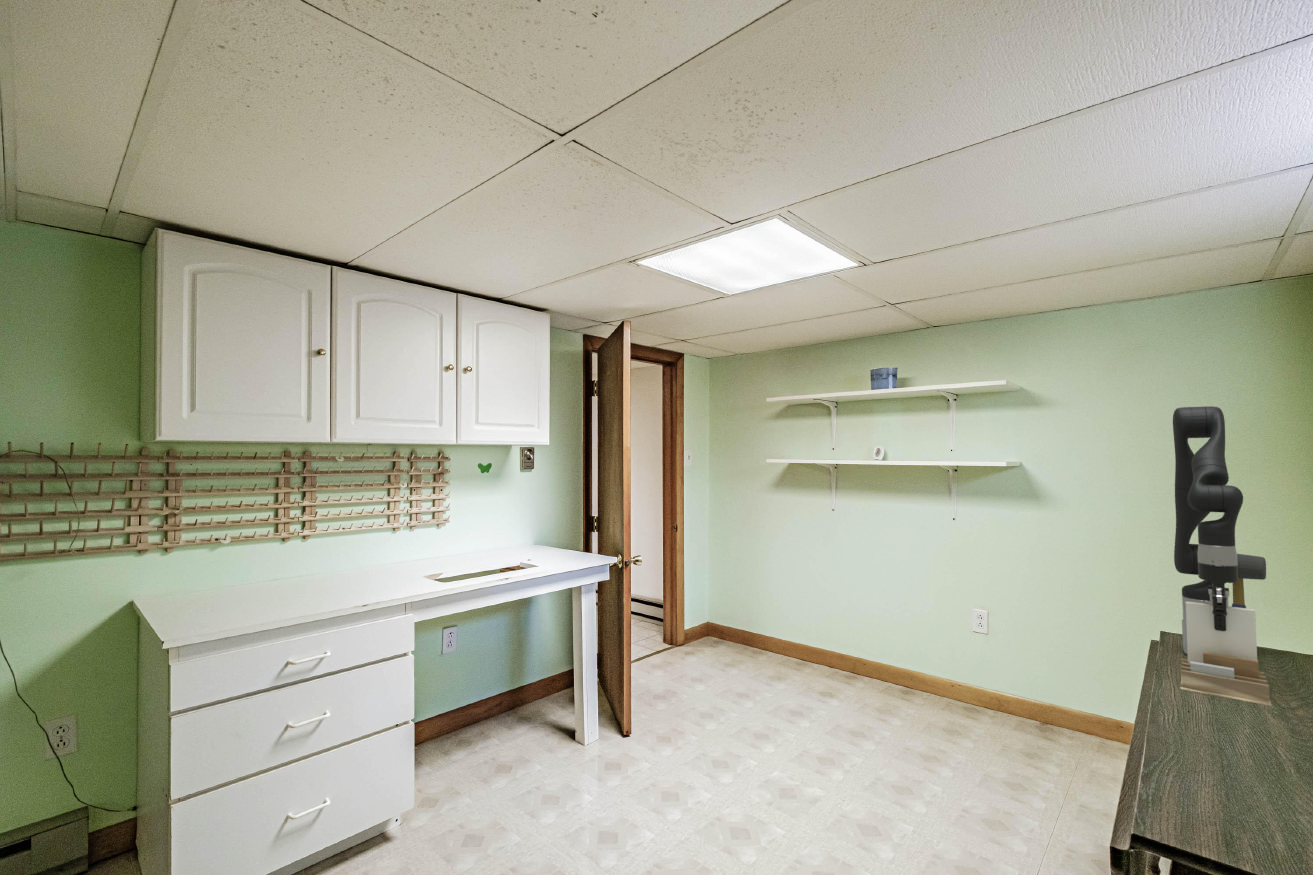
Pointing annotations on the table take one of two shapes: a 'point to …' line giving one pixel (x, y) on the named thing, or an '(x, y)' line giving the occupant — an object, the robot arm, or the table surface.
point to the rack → (1226, 685)
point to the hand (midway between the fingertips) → (1220, 629)
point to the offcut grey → (1212, 669)
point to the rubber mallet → (1247, 575)
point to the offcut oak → (1234, 664)
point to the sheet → (1220, 632)
